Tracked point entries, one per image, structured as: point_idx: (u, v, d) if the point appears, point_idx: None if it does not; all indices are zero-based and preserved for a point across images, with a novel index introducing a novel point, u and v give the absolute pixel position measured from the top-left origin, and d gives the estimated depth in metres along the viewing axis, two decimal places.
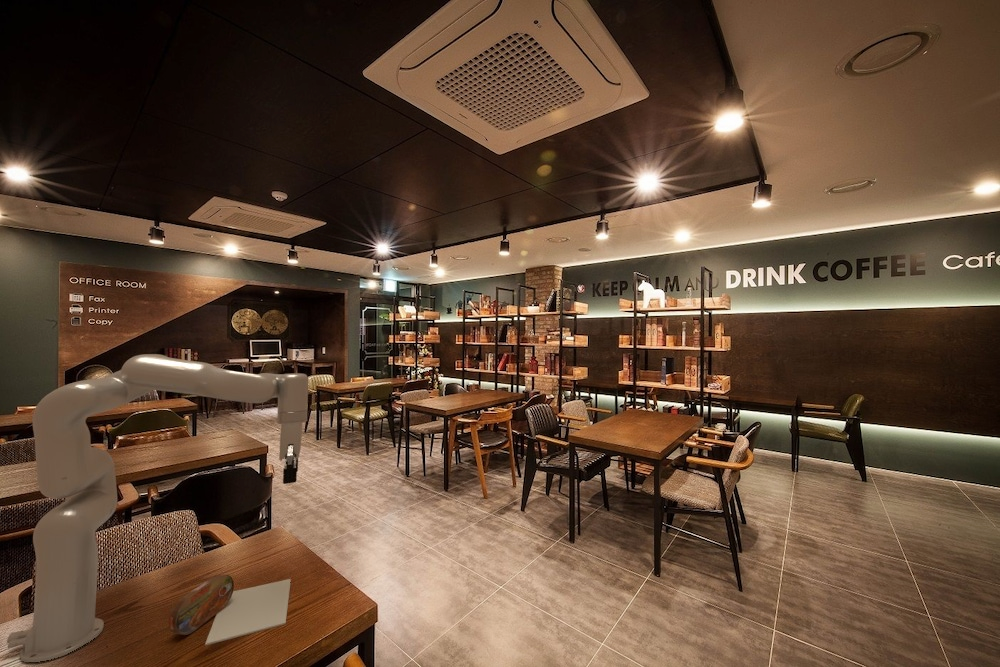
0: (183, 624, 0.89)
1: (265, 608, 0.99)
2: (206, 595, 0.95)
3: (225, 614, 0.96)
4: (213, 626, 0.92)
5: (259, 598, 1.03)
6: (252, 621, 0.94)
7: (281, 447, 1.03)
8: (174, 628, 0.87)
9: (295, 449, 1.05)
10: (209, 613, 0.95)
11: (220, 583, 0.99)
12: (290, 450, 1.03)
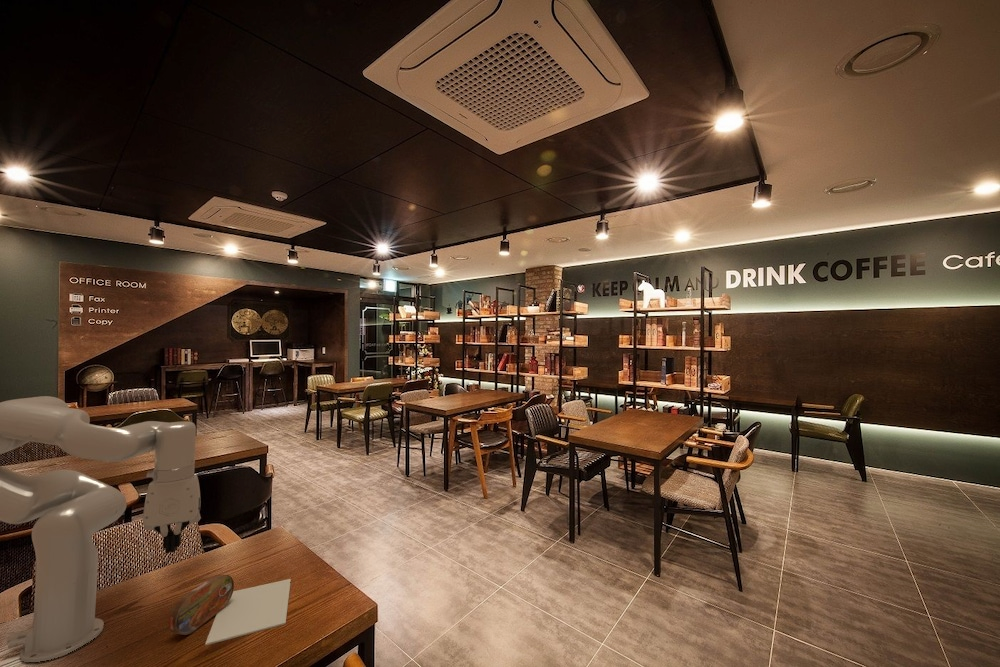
0: (183, 624, 0.89)
1: (265, 608, 0.99)
2: (206, 595, 0.95)
3: (225, 614, 0.96)
4: (213, 626, 0.92)
5: (259, 598, 1.03)
6: (252, 621, 0.94)
7: (195, 503, 0.93)
8: (174, 628, 0.87)
9: (200, 502, 0.96)
10: (209, 613, 0.95)
11: (220, 583, 0.99)
12: (198, 511, 0.95)
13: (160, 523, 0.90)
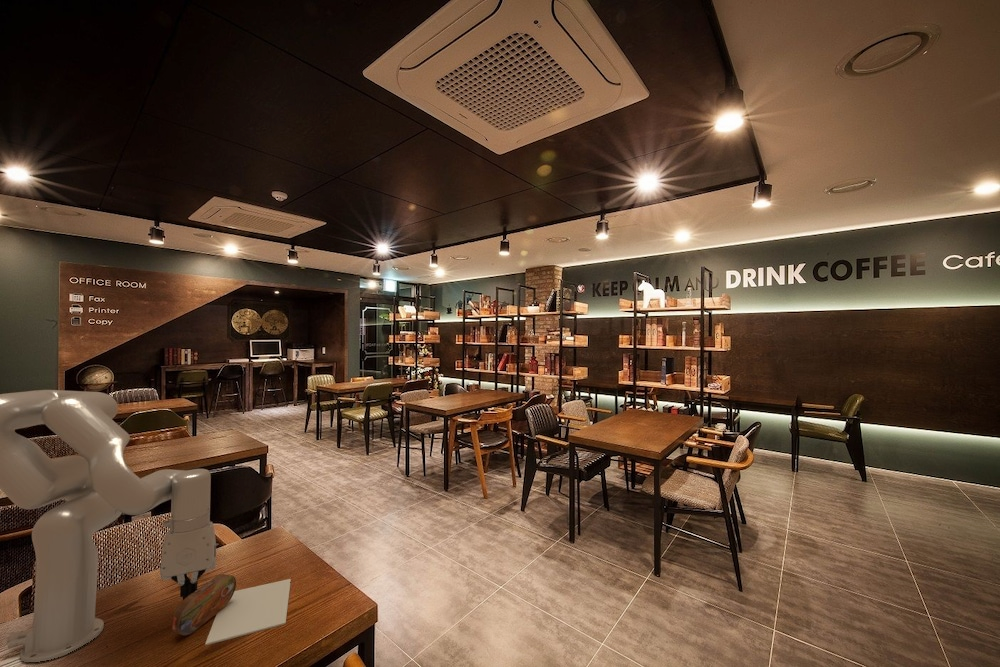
0: (185, 625, 0.89)
1: (265, 608, 0.99)
2: (209, 596, 0.95)
3: (225, 614, 0.96)
4: (213, 626, 0.92)
5: (259, 598, 1.03)
6: (252, 621, 0.94)
7: (211, 551, 0.94)
8: (176, 629, 0.87)
9: (215, 549, 0.97)
10: (209, 613, 0.95)
11: (224, 583, 0.98)
12: (214, 558, 0.96)
13: (177, 573, 0.91)
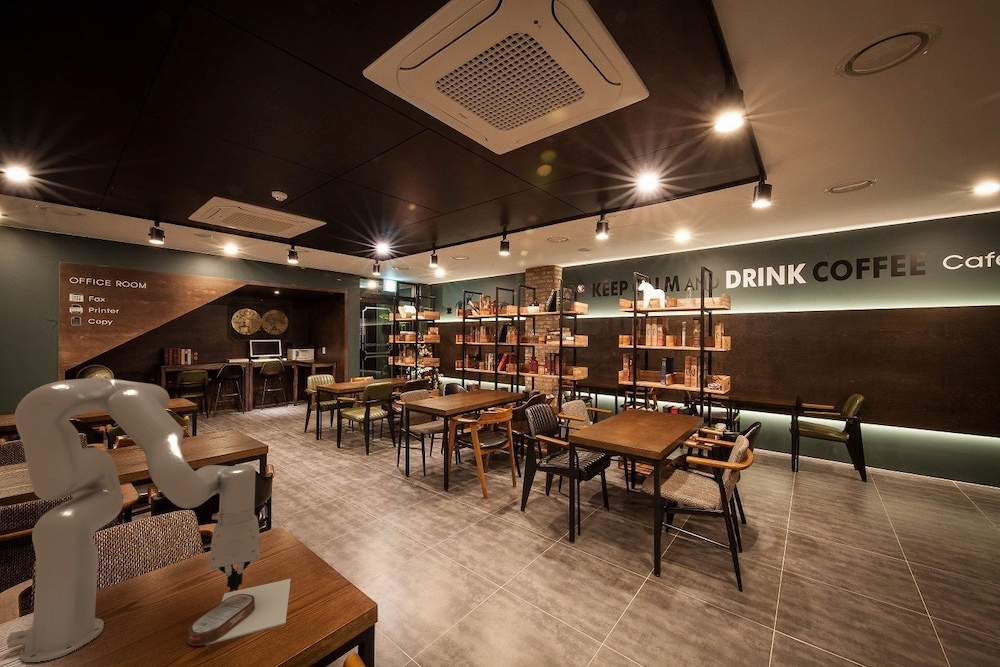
0: None
1: (265, 608, 0.99)
2: None
3: None
4: None
5: (259, 598, 1.03)
6: (252, 621, 0.94)
7: (257, 544, 0.98)
8: (190, 641, 0.86)
9: (259, 541, 1.01)
10: None
11: None
12: (258, 551, 1.00)
13: (225, 564, 0.95)
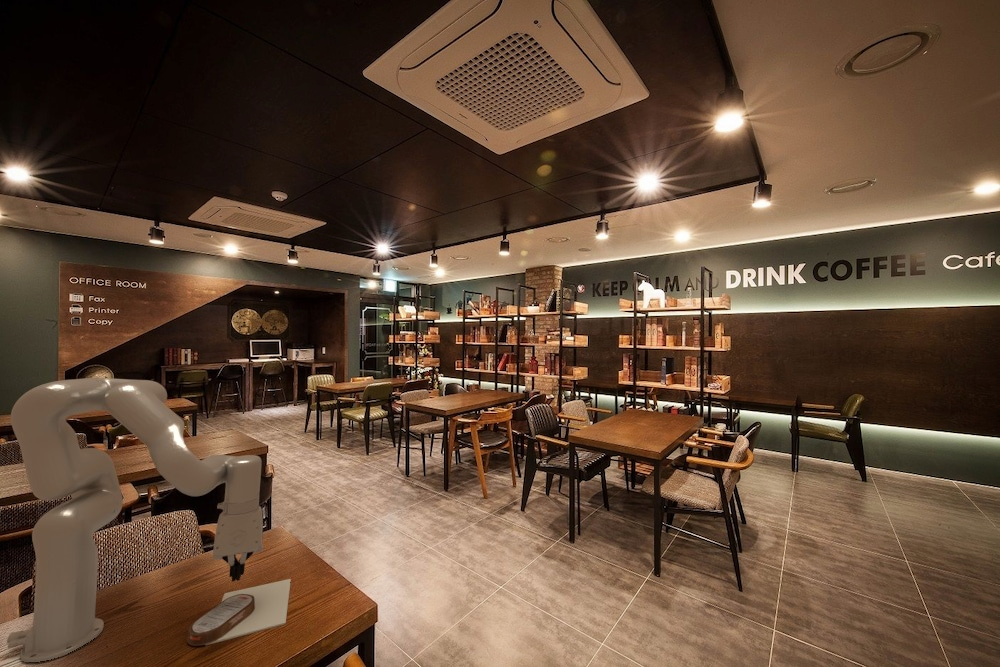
0: None
1: (265, 608, 0.99)
2: None
3: None
4: None
5: (259, 598, 1.03)
6: (252, 621, 0.94)
7: (260, 534, 0.99)
8: (190, 641, 0.86)
9: (262, 532, 1.02)
10: None
11: None
12: (261, 541, 1.01)
13: (229, 553, 0.95)
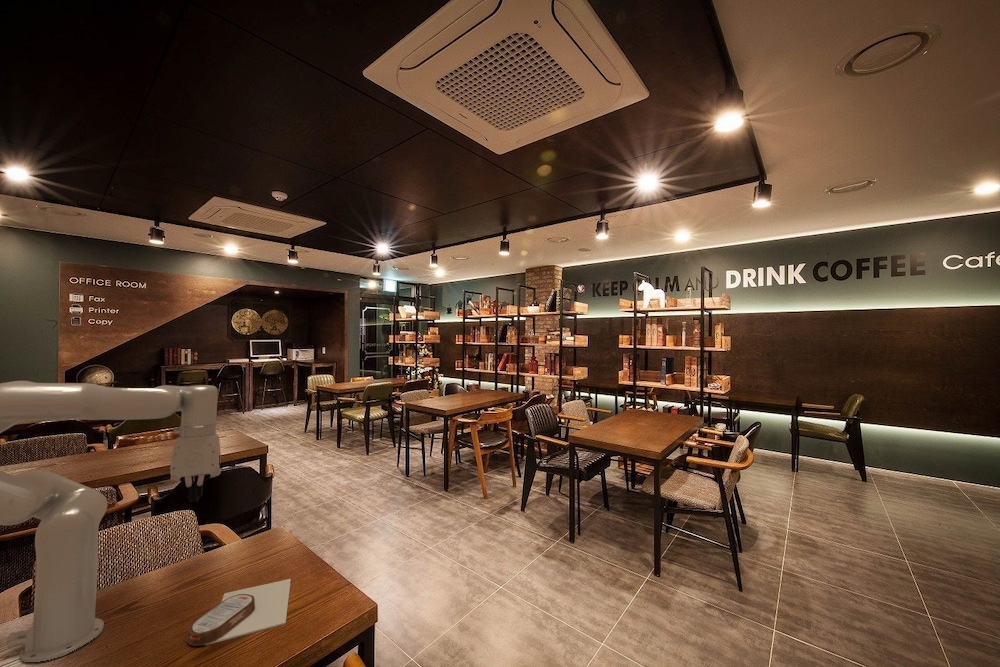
0: None
1: (265, 608, 0.99)
2: None
3: None
4: None
5: (259, 598, 1.03)
6: (252, 621, 0.94)
7: (216, 458, 1.03)
8: (190, 641, 0.86)
9: (220, 458, 1.06)
10: None
11: None
12: (218, 466, 1.05)
13: (185, 474, 1.00)
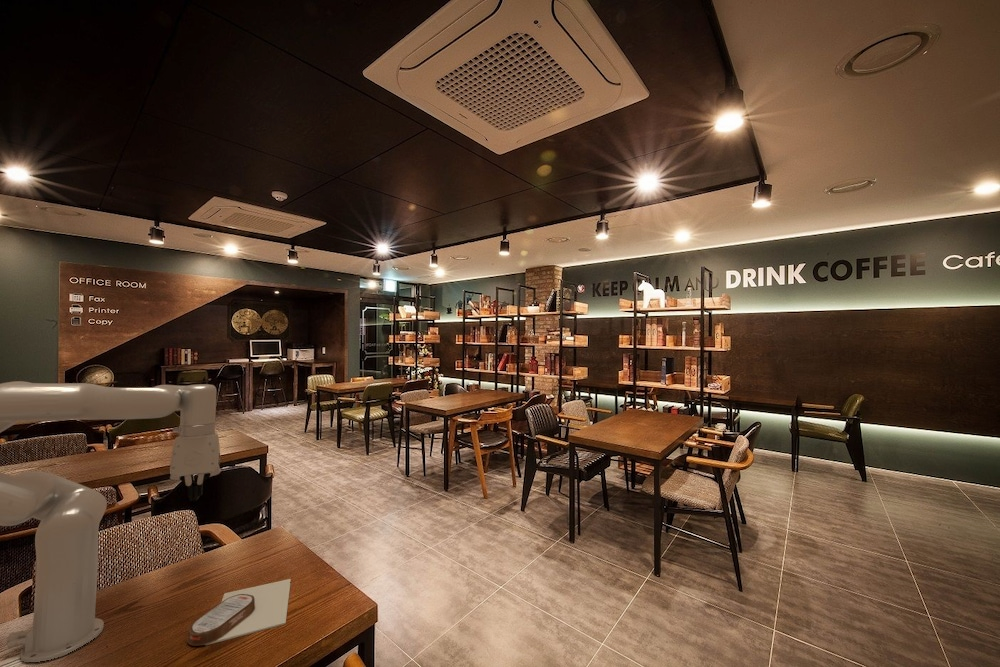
0: None
1: (265, 608, 0.99)
2: None
3: None
4: None
5: (259, 598, 1.03)
6: (252, 621, 0.94)
7: (216, 457, 1.03)
8: (190, 641, 0.86)
9: (219, 457, 1.06)
10: None
11: None
12: (218, 465, 1.05)
13: (185, 473, 1.00)
